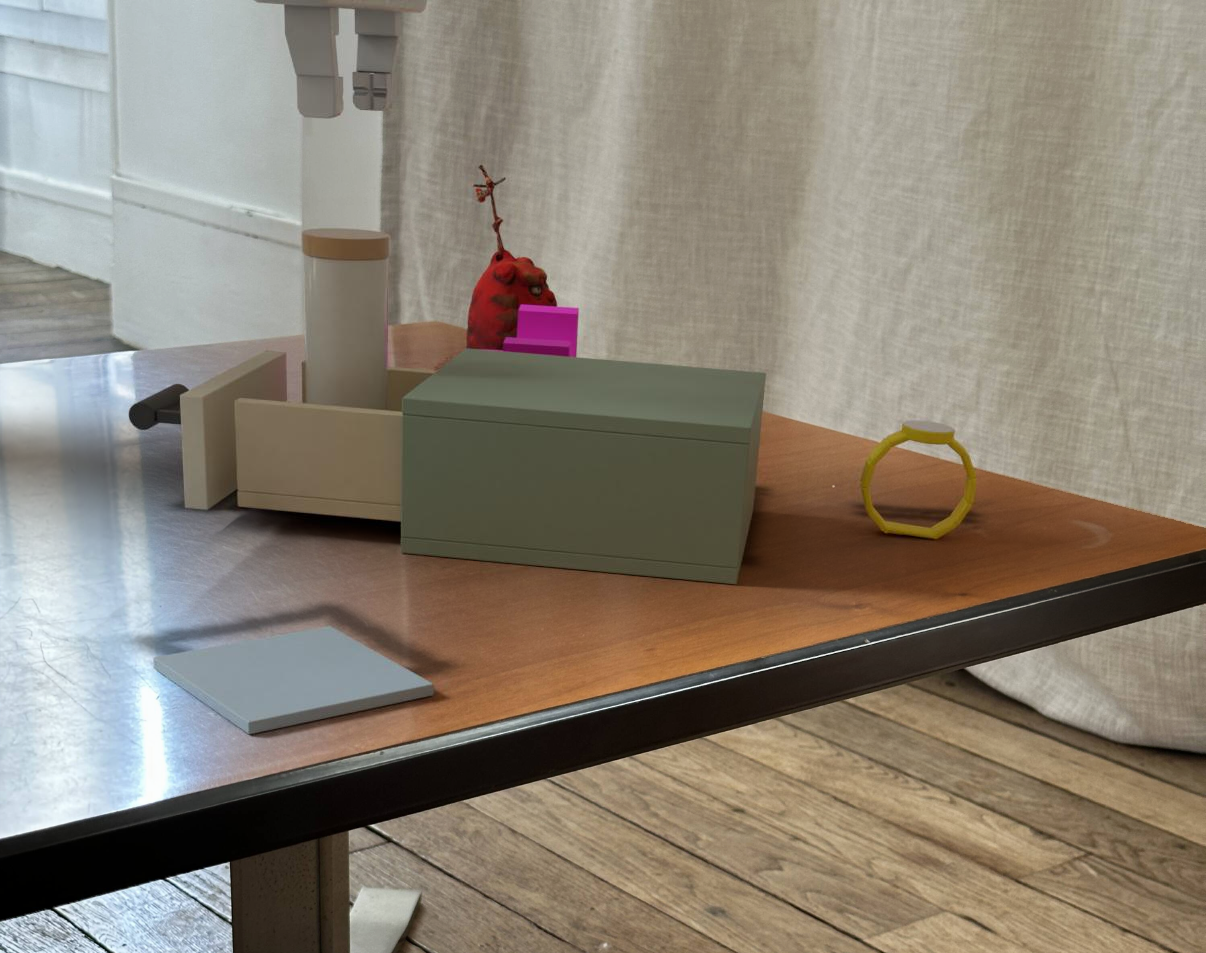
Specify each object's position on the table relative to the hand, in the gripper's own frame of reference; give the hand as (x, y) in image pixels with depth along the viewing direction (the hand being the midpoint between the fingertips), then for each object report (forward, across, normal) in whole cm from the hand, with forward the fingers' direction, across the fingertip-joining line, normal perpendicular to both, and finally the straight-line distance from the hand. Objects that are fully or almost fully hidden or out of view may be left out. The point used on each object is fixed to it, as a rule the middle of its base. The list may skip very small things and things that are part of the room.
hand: (348, 113), depth 83 cm
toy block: (+20, -18, +6) cm, 27 cm away
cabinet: (+20, 0, +13) cm, 23 cm away
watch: (+20, -5, +30) cm, 36 cm away
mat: (+20, +26, +5) cm, 33 cm away
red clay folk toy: (+20, -37, +2) cm, 42 cm away
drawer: (+19, 0, -1) cm, 19 cm away
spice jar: (+18, 0, 0) cm, 18 cm away
